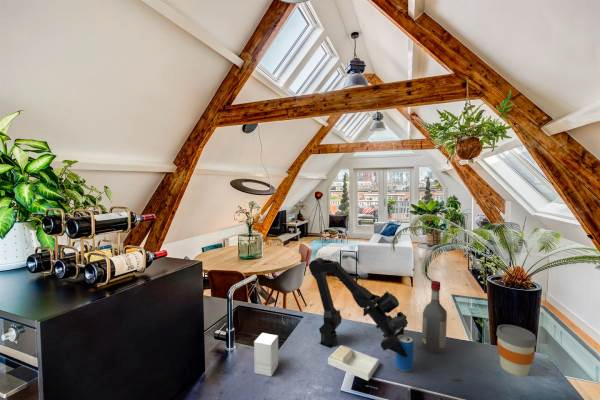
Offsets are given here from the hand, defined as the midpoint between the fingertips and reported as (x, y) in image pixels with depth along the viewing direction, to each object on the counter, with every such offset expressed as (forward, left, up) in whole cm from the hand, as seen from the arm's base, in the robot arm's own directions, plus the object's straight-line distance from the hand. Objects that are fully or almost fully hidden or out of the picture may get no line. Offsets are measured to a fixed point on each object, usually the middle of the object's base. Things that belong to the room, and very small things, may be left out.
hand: (408, 352), depth 112 cm
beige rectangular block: (-23, -11, -6) cm, 27 cm away
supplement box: (-45, -33, -7) cm, 57 cm away
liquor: (+6, +22, -7) cm, 24 cm away
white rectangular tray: (-18, -11, -7) cm, 22 cm away
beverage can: (-1, 0, -7) cm, 7 cm away
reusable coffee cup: (+35, +25, -7) cm, 43 cm away
